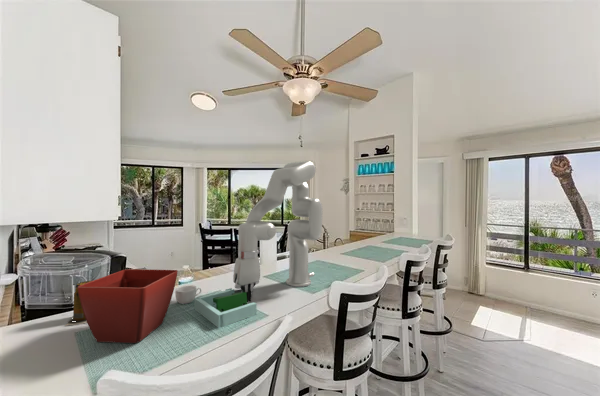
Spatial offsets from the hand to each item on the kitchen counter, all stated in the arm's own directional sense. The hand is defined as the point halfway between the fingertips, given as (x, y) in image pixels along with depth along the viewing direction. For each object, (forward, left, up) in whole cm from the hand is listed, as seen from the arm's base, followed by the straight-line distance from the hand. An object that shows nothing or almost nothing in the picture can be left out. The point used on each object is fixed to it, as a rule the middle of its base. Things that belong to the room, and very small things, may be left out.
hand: (247, 300), depth 102 cm
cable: (+2, -11, -1) cm, 11 cm away
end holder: (+10, +1, -1) cm, 10 cm away
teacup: (+16, -18, -1) cm, 24 cm away
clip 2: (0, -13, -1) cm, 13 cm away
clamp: (+8, 0, -2) cm, 8 cm away
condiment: (+48, -26, -1) cm, 55 cm away
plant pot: (+38, -5, -1) cm, 38 cm away
